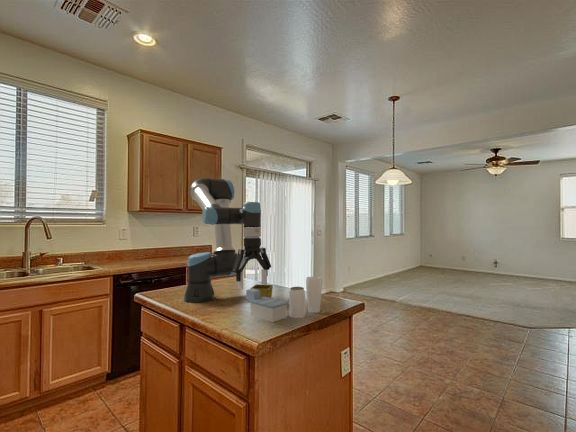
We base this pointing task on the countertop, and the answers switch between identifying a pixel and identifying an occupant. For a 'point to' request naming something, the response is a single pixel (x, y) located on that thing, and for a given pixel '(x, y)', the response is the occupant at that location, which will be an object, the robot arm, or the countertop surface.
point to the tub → (268, 312)
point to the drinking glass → (314, 293)
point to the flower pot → (264, 290)
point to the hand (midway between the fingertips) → (252, 286)
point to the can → (297, 302)
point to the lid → (263, 299)
